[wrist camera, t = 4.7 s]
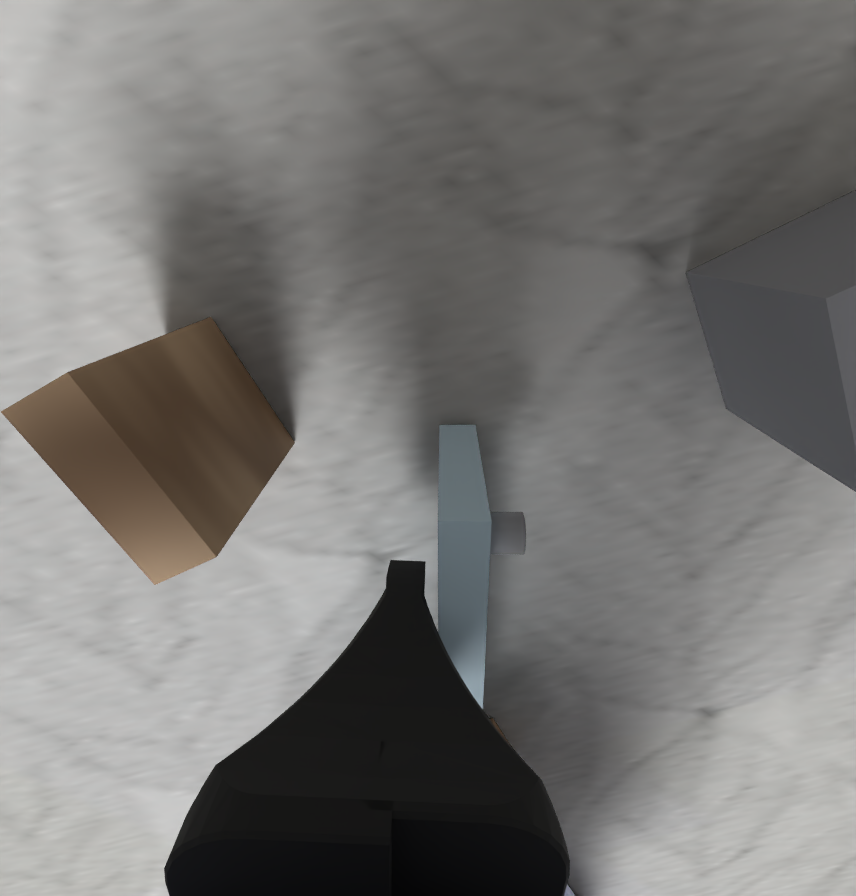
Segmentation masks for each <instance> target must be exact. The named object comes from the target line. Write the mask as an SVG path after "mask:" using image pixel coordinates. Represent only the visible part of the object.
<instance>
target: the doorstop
mask: <svg viewBox="0 0 856 896" xmlns="http://www.w3.org/2000/svg"><path fill="white" fill-rule="evenodd" d="M686 275H687V279H688V282H689V285H690V289H691V292H692V295H693V299H694V302H695V305H696V309H697V312H698V315H699V319H700V322H701V326H702V329H703V332H704V336H705V339H706V342H707V346H708V349H709V352H710V356H711V359H712V362H713V366H714V369H715V372H716V376H717V379H718V383H719V386H720V389H721V393H722V396H723V399H724V403H725V406H726V409H727V410H729V411H730V412H732V413H733V414H735V415H737V416H738V417H740V418H741V419H743V420H744V421H746V422H747V423H749V424H751V425H752V426H754V427H755V428H757V429H758V430H760V431H762V432H763V433H765V434H766V435H768V436H769V437H771V438H772V439H774V440H776V441H777V442H779V443H780V444H782V445H783V446H785V447H787V448H788V449H790V450H791V451H793V452H794V453H796V454H797V455H799V456H801V457H802V458H804V459H805V460H807V461H808V462H810V463H812V464H813V465H815V466H816V467H818V468H819V469H821V470H822V471H824V472H826V473H827V474H829V475H830V476H832V477H833V478H835V479H837V480H838V481H840V482H841V483H843V484H844V485H846V486H847V487H849V488H851V489H852V490H854V491H855V492H856V190H855V191H853V192H851V193H849V194H847V195H845V196H842V197H840V198H838V199H836V200H834V201H832V202H830V203H828V204H826V205H824V206H822V207H820V208H818V209H816V210H814V211H812V212H809V213H807V214H805V215H803V216H801V217H799V218H797V219H795V220H793V221H791V222H789V223H787V224H785V225H783V226H781V227H778V228H776V229H774V230H772V231H770V232H768V233H766V234H764V235H762V236H760V237H758V238H756V239H754V240H752V241H750V242H748V243H745V244H743V245H741V246H739V247H737V248H735V249H733V250H731V251H729V252H727V253H725V254H723V255H721V256H719V257H717V258H715V259H712V260H710V261H708V262H706V263H704V264H702V265H700V266H698V267H696V268H694V269H692V270H690V271H688V272H686Z"/></svg>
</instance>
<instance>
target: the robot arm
mask: <svg viewBox="0 0 856 896" xmlns="http://www.w3.org/2000/svg"><path fill="white" fill-rule="evenodd" d="M424 587H425V562H423V561H399V560H391V561H390V565H389V568H388V573H387V577H386V589H385V591H384V593H383V595H382V597H381V598H380V600H379V601H378V603H377V605H376V606H375V608H374V610H373V611H372V613H371V615H370V616H369V618H368V619H367V620H366V622H365V623H364V625H363V626H362V627H361V629H360V630H359V632H358V633H357V634H356V636H355V637H354V639H353V640H352V641H351V643H350V644H349V645H348V646H347V648H346V649H345V650H344V651H343V653H342V654H341V655H340V656H339V657H338V659H337V660H336V661H335V662H334V663H333V664H332V666H331V667H330V668H329V669H328V670H327V671H326V672H325V673H324V674H323V675H322V676H321V677H320V678H319V679H318V681H317V682H316V683H315V684H314V685H313V686H312V687H311V688H310V689H309V690H308V691H307V692H306V693H305V694H304V695H303V696H302V697H301V698H300V699H298V700H297V701H296V702H295V703H294V704H293V705H292V706H291V707H289V708H288V709H287V710H286V711H285V712H284V713H283V714H281V715H280V716H279V717H278V718H277V719H276V720H274V721H273V722H272V723H271V724H270V725H269V726H268V727H266V728H265V729H264V730H263V731H261V732H260V733H259V734H258V735H256V736H255V737H254V738H252V739H251V740H249V741H248V742H247V743H245V744H244V745H243V746H241V747H240V748H239V749H237V750H236V751H235V752H233V753H232V754H231V755H229V756H228V757H226V758H225V759H224V760H222V761H221V762H219V763H218V764H216V766H215V767H214V769H213V770H212V772H211V773H210V775H209V777H208V778H207V780H206V781H205V783H204V785H203V786H202V788H201V790H200V792H199V794H198V795H197V797H196V799H195V801H194V802H193V804H192V806H191V808H190V810H189V812H188V814H187V816H186V818H185V820H184V822H183V825H182V827H181V830H180V832H179V834H178V837H177V839H176V842H175V844H174V846H173V849H172V851H171V854H170V856H169V858H168V861H167V863H166V866H165V868H164V871H165V882H166V886H167V889H168V892H169V895H170V896H575V895H574V893H573V892H572V890H571V889H570V887H569V886H568V885H567V882H568V878H569V869H570V860H569V855H568V851H567V847H566V843H565V840H564V837H563V833H562V830H561V827H560V824H559V821H558V818H557V816H556V813H555V810H554V808H553V805H552V803H551V800H550V798H549V796H548V794H547V791H546V789H545V787H544V784H543V782H542V780H541V779H540V778H539V777H538V776H537V775H536V773H535V772H534V771H533V770H532V769H531V768H530V767H529V766H528V765H527V764H526V763H525V762H524V761H523V759H522V758H521V757H520V756H519V755H518V754H517V753H516V752H515V750H514V749H513V748H512V747H511V746H510V745H509V743H508V742H507V741H506V740H505V738H504V737H503V736H502V735H501V734H500V732H499V731H498V730H497V729H496V727H495V726H494V725H493V723H492V722H491V721H490V719H489V718H488V716H487V715H486V714H485V712H484V711H483V709H482V708H481V707H480V705H479V704H478V702H477V701H476V700H475V698H474V697H473V695H472V694H471V692H470V691H469V689H468V688H467V686H466V684H465V683H464V681H463V680H462V678H461V676H460V674H459V673H458V671H457V669H456V667H455V666H454V664H453V662H452V660H451V658H450V656H449V655H448V653H447V651H446V649H445V647H444V644H443V642H442V640H441V638H440V636H439V634H438V631H437V629H436V627H435V624H434V622H433V619H432V616H431V614H430V611H429V608H428V606H427V602H426V599H425V596H424Z"/></svg>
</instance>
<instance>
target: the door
mask: <svg viewBox="0 0 856 896" xmlns="http://www.w3.org/2000/svg"><path fill="white" fill-rule="evenodd" d="M525 546H526V527H525V518H524V514H523V512H490V509H489V503H488V497H487V491H486V485H485V479H484V473H483V467H482V461H481V455H480V449H479V443H478V437H477V431H476V425H439V487H438V634H439V636H440V638H441V640H442V642H443V644H444V647H445V649H446V651H447V653H448V655H449V656H450V658H451V660H452V662H453V664H454V666H455V667H456V669H457V671H458V673H459V674H460V676H461V678H462V680H463V681H464V683H465V684H466V686H467V688H468V689H469V691H470V692H471V694H472V695H473V697H474V698H475V700H476V701H477V702H478V704H479V705H480V707H481V708H482V709H483V695H484V674H485V652H486V631H487V610H488V588H489V567H490V554H524V552H525Z"/></svg>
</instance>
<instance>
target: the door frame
mask: <svg viewBox="0 0 856 896" xmlns="http://www.w3.org/2000/svg"><path fill="white" fill-rule="evenodd" d="M1 413H2V414H3V415H4V416H5V417H6V418H7V419H8V420H9V422H10V423H11V424H12V425H13V426H14V427H15V428H16V429H17V431H18V432H19V433H20V434H21V435H22V436H23V437H24V438H25V440H26V441H27V442H28V443H29V444H30V445H31V446H32V447H33V449H34V450H35V451H36V452H37V453H38V454H39V455H40V456H41V458H42V459H43V460H44V461H45V462H46V463H47V464H48V465H49V467H50V468H51V469H52V470H53V471H54V472H55V473H56V474H57V476H58V477H59V478H60V479H61V480H62V481H63V482H64V483H65V485H66V486H67V487H68V488H69V489H70V490H71V491H72V492H73V494H74V495H75V496H76V497H77V498H78V499H79V500H80V501H81V503H82V504H83V505H84V506H85V507H86V508H87V509H88V510H89V512H90V513H91V514H92V515H93V516H94V517H95V518H96V519H97V521H98V522H99V523H100V524H101V525H102V526H103V527H104V528H105V530H106V531H107V532H108V533H109V534H110V535H111V536H112V537H113V539H114V540H115V541H116V542H117V543H118V544H119V545H120V546H121V548H122V549H123V550H124V551H125V552H126V553H127V554H128V555H129V557H130V558H131V559H132V560H133V561H134V562H135V563H136V564H137V566H138V567H139V568H140V569H141V570H142V571H143V572H144V573H145V575H146V576H147V577H148V578H149V579H150V580H151V581H152V582H153V584H154V585H156V584H158V583H160V582H162V581H165V580H167V579H169V578H171V577H173V576H176V575H178V574H180V573H182V572H184V571H187V570H189V569H191V568H193V567H196V566H198V565H200V564H202V563H204V562H207V561H209V560H211V559H213V558H215V557H217V556H218V554H219V553H220V551H221V550H222V548H223V547H224V545H225V544H226V542H227V541H228V540H229V538H230V537H231V535H232V534H233V532H234V531H235V529H236V528H237V526H238V525H239V523H240V522H241V521H242V519H243V518H244V516H245V515H246V513H247V512H248V510H249V509H250V507H251V506H252V504H253V503H254V502H255V500H256V499H257V497H258V496H259V494H260V493H261V491H262V490H263V488H264V487H265V486H266V484H267V483H268V481H269V480H270V478H271V477H272V475H273V474H274V472H275V471H276V469H277V468H278V467H279V465H280V464H281V462H282V461H283V459H284V458H285V456H286V455H287V453H288V452H289V450H290V449H291V448H292V446H293V445H294V443H295V442H294V441H293V439H292V438H291V436H290V435H289V433H288V432H287V430H286V429H285V427H284V426H283V424H282V423H281V421H280V420H279V418H278V417H277V415H276V414H275V412H274V411H273V409H272V408H271V406H270V405H269V403H268V402H267V400H266V399H265V397H264V396H263V394H262V393H261V391H260V390H259V388H258V387H257V385H256V384H255V382H254V381H253V379H252V378H251V376H250V375H249V373H248V372H247V370H246V369H245V367H244V366H243V364H242V363H241V361H240V360H239V358H238V357H237V355H236V354H235V352H234V351H233V349H232V348H231V346H230V345H229V343H228V342H227V340H226V339H225V337H224V336H223V334H222V333H221V331H220V330H219V328H218V327H217V325H216V324H215V322H214V321H213V319H212V318H211V317H209V318H207V319H204V320H202V321H199V322H196V323H194V324H191V325H189V326H186V327H184V328H181V329H178V330H176V331H173V332H171V333H168V334H165V335H163V336H160V337H158V338H155V339H153V340H150V341H147V342H145V343H142V344H140V345H137V346H134V347H132V348H129V349H127V350H124V351H122V352H119V353H116V354H114V355H111V356H109V357H106V358H103V359H101V360H98V361H96V362H93V363H91V364H88V365H85V366H83V367H80V368H78V369H75V370H72V371H70V372H67V373H66V374H64V375H62V376H61V377H59V378H57V379H55V380H54V381H52V382H50V383H49V384H47V385H45V386H44V387H42V388H40V389H39V390H37V391H35V392H33V393H32V394H30V395H28V396H27V397H25V398H23V399H22V400H20V401H18V402H17V403H15V404H13V405H11V406H10V407H8V408H6V409H5V410H3V411H1ZM490 721H491V722H492V723H493V725H494V726H495V727H496V729H497V730H498V731H499V732H500V734H501V735H502V736H503V737H504V738H505V736H504V735H503V733H502V731H501V730H500V728H499V727H498V725H497V724H496V722H495V721H494V719H493V718H491V719H490ZM505 740H506V741H507V739H506V738H505ZM507 742H508V741H507ZM508 743H509V742H508ZM509 745H510V744H509ZM510 746H511V745H510Z"/></svg>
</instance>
